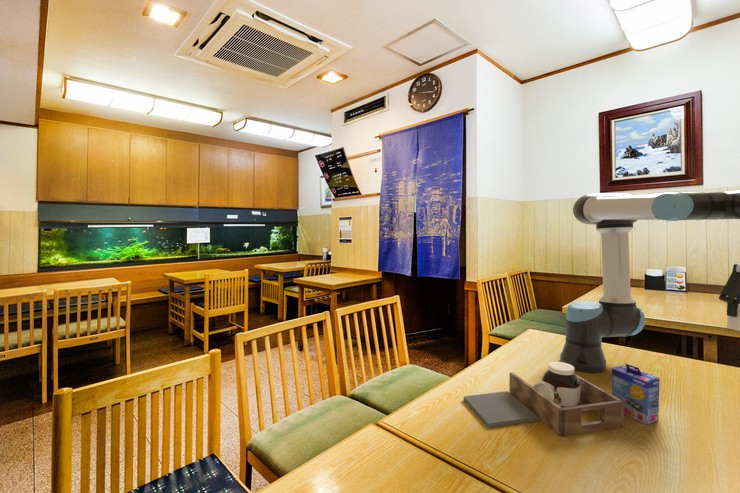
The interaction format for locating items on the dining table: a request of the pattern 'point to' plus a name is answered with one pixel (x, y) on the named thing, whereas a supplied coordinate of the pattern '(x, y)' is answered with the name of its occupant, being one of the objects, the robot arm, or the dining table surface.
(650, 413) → the ink cartridge box
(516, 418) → the slate board
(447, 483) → the dining table surface
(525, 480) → the dining table surface
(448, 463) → the dining table surface
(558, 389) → the spread jar
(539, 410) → the wooden tray frame
